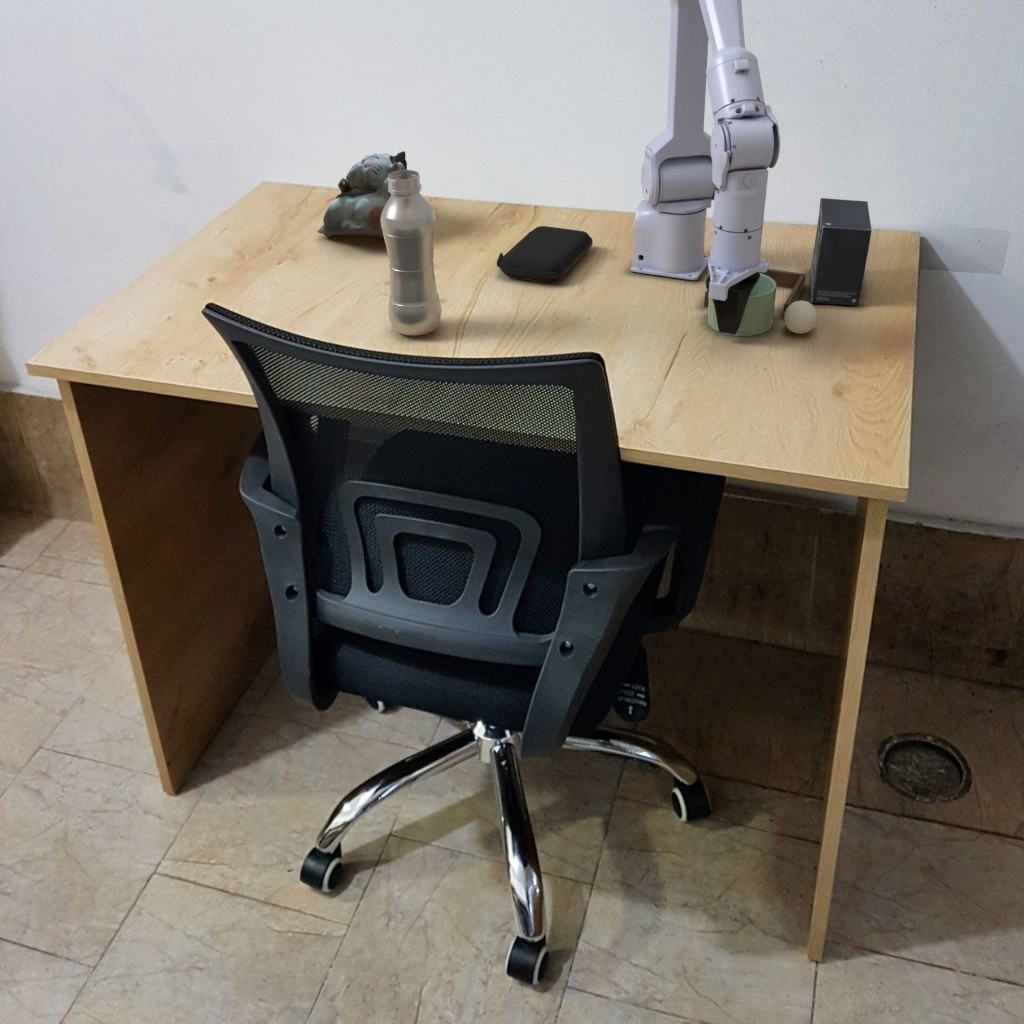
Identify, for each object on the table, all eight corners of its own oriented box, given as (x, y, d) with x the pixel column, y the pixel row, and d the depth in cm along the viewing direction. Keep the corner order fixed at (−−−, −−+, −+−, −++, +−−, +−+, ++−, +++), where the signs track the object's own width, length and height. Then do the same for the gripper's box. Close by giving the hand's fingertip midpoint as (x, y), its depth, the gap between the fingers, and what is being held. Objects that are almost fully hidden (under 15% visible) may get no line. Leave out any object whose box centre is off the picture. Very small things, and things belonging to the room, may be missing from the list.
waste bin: (699, 330, 141) (702, 291, 138) (717, 304, 147) (720, 266, 144) (763, 340, 138) (767, 301, 135) (778, 313, 144) (782, 275, 141)
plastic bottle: (390, 320, 146) (374, 167, 135) (442, 317, 147) (431, 164, 135) (390, 343, 141) (373, 185, 129) (444, 339, 141) (432, 182, 130)
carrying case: (528, 239, 167) (487, 278, 156) (528, 219, 165) (486, 257, 154) (596, 248, 163) (559, 289, 152) (596, 228, 162) (559, 268, 151)
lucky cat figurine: (306, 233, 172) (320, 139, 170) (378, 248, 178) (392, 158, 176) (343, 234, 159) (359, 133, 157) (419, 251, 165) (435, 154, 163)
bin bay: (704, 306, 147) (705, 292, 145) (724, 276, 154) (725, 262, 153) (787, 319, 143) (789, 304, 142) (804, 287, 150) (806, 273, 149)
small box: (861, 307, 145) (874, 229, 139) (809, 304, 146) (819, 226, 140) (858, 274, 153) (869, 198, 147) (808, 271, 154) (818, 196, 148)
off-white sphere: (778, 336, 139) (782, 306, 137) (786, 322, 142) (789, 293, 140) (811, 341, 138) (815, 311, 135) (818, 327, 141) (822, 297, 138)
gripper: (756, 251, 123) (745, 362, 131) (786, 206, 134) (775, 311, 142) (693, 243, 125) (686, 353, 133) (728, 199, 136) (720, 303, 144)
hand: (728, 331), depth 138 cm, fingers closed
